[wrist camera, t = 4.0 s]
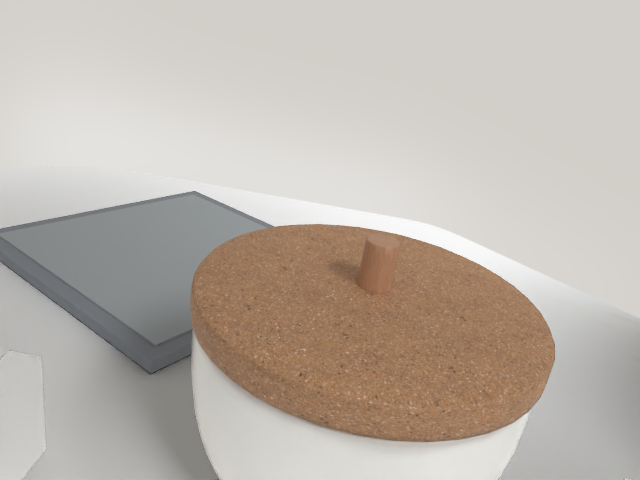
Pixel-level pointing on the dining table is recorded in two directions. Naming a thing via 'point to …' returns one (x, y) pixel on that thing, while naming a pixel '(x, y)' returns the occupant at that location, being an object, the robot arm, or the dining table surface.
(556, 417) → the dining table surface
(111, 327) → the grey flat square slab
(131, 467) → the dining table surface
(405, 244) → the lidded jar
